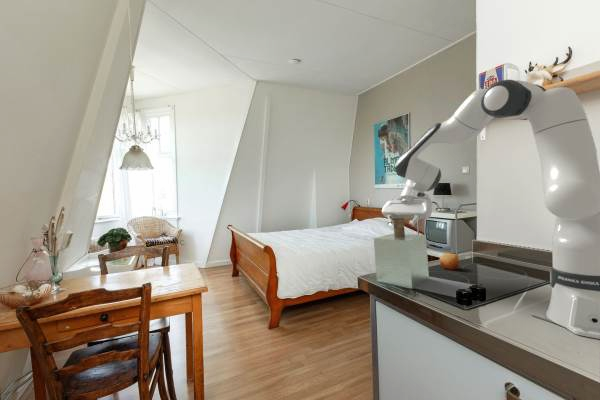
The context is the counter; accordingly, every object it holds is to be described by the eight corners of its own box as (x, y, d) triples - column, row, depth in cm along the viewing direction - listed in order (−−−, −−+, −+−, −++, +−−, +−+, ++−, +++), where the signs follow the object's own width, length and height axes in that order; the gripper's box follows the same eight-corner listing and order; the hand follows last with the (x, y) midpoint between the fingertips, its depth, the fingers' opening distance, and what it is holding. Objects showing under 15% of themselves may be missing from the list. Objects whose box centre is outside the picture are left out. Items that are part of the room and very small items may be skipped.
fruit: (467, 266, 126) (458, 252, 125) (454, 276, 125) (445, 262, 124) (454, 262, 134) (446, 248, 133) (442, 271, 133) (433, 258, 132)
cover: (429, 278, 115) (424, 215, 115) (412, 288, 104) (407, 219, 104) (395, 273, 126) (390, 215, 126) (376, 282, 116) (372, 219, 115)
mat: (475, 286, 105) (475, 284, 105) (460, 299, 94) (460, 298, 94) (429, 277, 118) (429, 276, 118) (411, 288, 106) (410, 287, 106)
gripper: (385, 195, 127) (374, 218, 120) (431, 193, 112) (422, 220, 105) (390, 204, 130) (380, 227, 123) (436, 204, 115) (427, 230, 108)
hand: (400, 224), depth 114 cm, fingers open, 8 cm apart
